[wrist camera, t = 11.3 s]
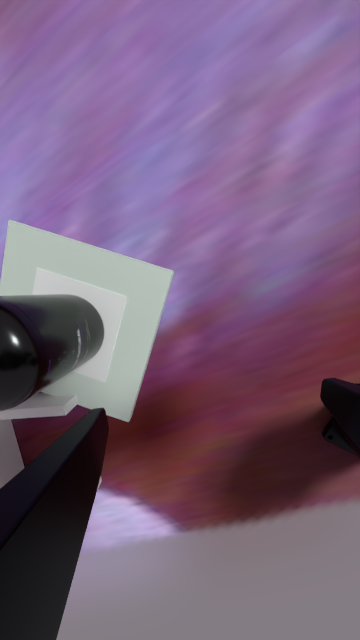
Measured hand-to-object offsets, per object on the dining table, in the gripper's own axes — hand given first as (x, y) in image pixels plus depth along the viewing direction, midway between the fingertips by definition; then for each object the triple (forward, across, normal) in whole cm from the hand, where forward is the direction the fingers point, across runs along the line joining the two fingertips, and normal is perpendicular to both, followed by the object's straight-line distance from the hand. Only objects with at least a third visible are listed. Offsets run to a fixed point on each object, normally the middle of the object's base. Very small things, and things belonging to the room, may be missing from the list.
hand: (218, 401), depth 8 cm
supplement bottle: (+13, +11, 0) cm, 17 cm away
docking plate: (+14, +11, 0) cm, 18 cm away
